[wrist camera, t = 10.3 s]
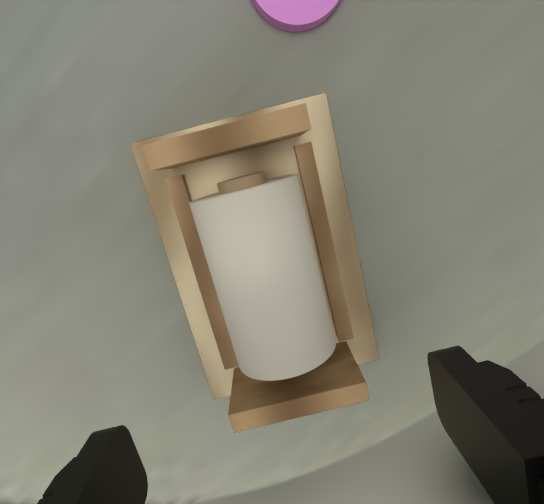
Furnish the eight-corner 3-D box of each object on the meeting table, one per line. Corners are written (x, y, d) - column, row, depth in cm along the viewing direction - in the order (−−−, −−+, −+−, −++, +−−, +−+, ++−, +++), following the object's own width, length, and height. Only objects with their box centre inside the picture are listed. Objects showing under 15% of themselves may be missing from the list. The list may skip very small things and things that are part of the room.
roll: (196, 187, 24) (173, 196, 18) (290, 162, 23) (299, 163, 17) (243, 346, 26) (237, 400, 20) (328, 326, 26) (347, 374, 20)
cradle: (323, 95, 23) (344, 74, 18) (375, 352, 28) (406, 403, 22) (135, 144, 24) (95, 139, 18) (215, 391, 28) (204, 452, 22)
